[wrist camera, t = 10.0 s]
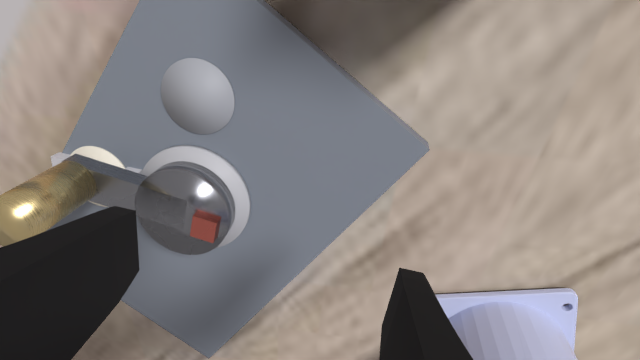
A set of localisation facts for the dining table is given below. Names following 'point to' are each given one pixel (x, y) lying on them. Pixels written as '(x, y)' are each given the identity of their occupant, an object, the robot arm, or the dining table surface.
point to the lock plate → (238, 152)
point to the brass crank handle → (125, 201)
